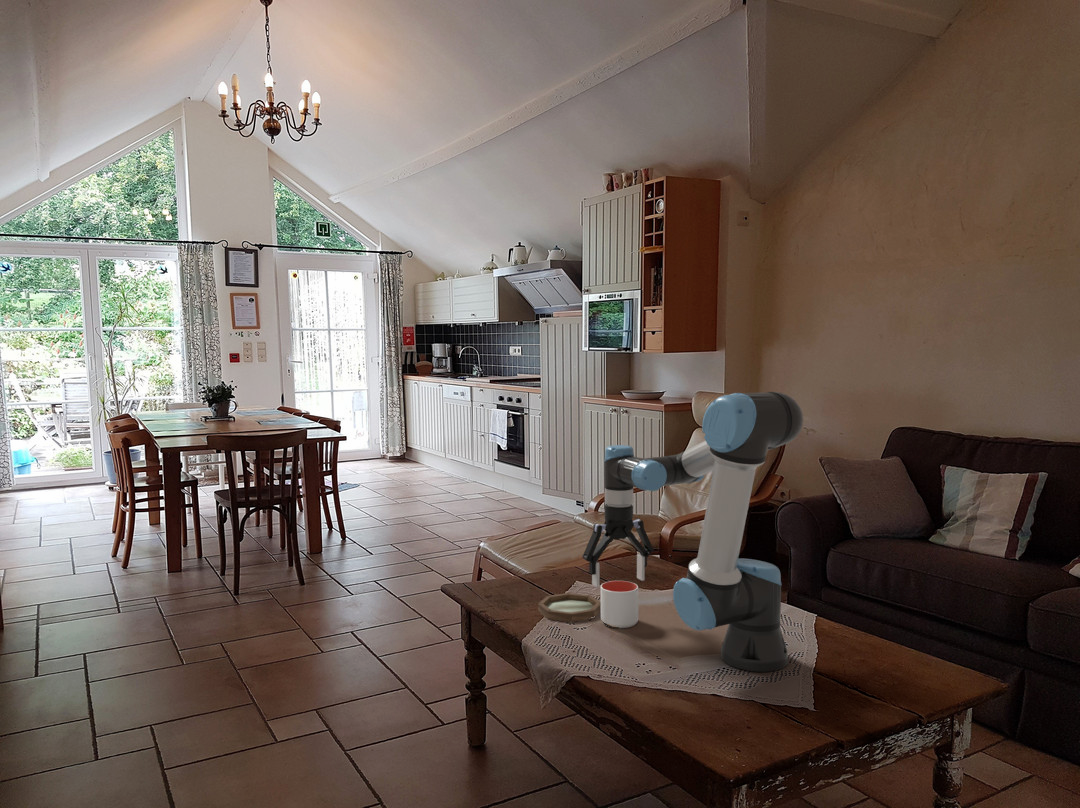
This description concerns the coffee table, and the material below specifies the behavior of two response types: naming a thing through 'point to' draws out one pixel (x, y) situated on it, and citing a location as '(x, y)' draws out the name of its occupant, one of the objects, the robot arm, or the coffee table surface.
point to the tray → (569, 607)
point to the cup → (619, 603)
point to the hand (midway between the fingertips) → (618, 582)
